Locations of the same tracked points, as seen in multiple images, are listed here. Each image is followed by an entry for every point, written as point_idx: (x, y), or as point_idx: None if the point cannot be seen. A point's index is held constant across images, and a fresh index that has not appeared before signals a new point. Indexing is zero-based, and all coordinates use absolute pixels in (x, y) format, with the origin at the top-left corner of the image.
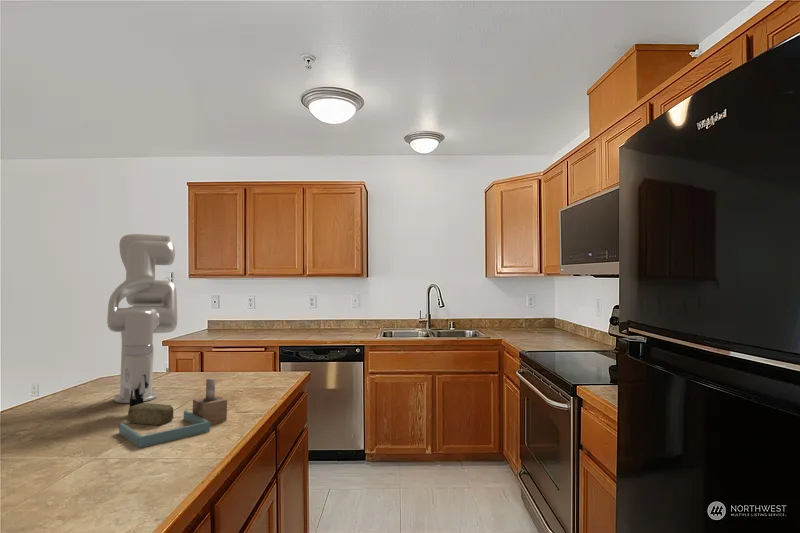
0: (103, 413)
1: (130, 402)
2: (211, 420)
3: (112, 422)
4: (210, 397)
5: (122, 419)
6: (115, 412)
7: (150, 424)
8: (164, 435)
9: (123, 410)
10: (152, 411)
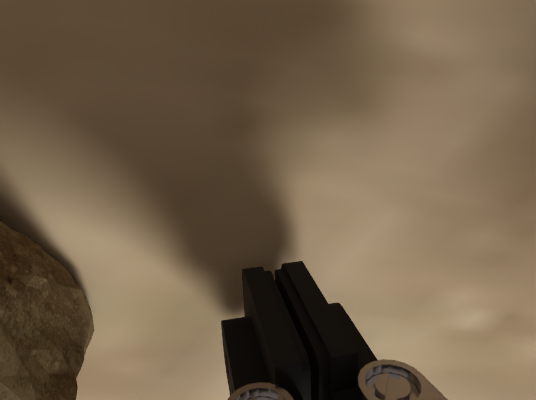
0: (529, 50)
1: (311, 324)
2: None
3: (93, 39)
4: None
5: (158, 157)
6: (475, 154)
7: None
8: None
9: (484, 225)
10: None
